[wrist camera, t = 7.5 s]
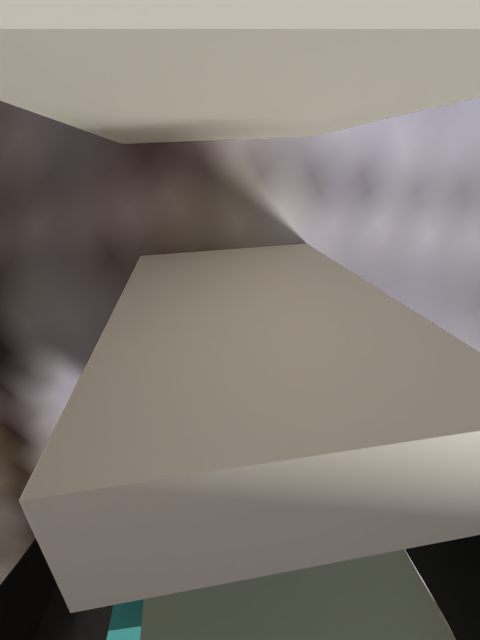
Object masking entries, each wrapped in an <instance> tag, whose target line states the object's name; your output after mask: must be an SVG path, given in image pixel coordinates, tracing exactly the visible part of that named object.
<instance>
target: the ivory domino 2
mask: <svg viewBox="0 0 480 640" xmlns="http://www.w3.org/2000/svg"><path fill="white" fill-rule="evenodd" d="M19 503H20V505H21V507H22V509H23V511H24V514H25V516H26V518H27V520H28V522H29V524H30V527H31V529H32V531H33V533H34V535H35V537H36V540H37V542H38V544H39V546H40V548H41V550H42V553H43V555H44V557H45V559H46V561H47V563H48V566H49V568H50V570H51V572H52V574H53V576H54V579H55V581H56V583H57V585H58V587H59V589H60V591H61V594H62V596H63V598H64V600H65V602H66V604H67V607H68V609H69V611H70V613H74V612H79V611H84V610H89V609H95V608H100V607H105V606H110V605H116V604H121V603H126V602H131V601H136V600H142V599H147V598H152V597H157V596H163V595H168V594H173V593H178V592H184V591H189V590H194V589H199V588H204V587H210V586H215V585H220V584H225V583H231V582H236V581H241V580H246V579H251V578H257V577H262V576H267V575H272V574H278V573H283V572H288V571H293V570H299V569H304V568H309V567H314V566H319V565H325V564H330V563H335V562H340V561H346V560H351V559H356V558H361V557H367V556H372V555H377V554H382V553H387V552H393V551H398V550H403V549H408V548H414V547H419V546H424V545H429V544H434V543H440V542H445V541H450V540H455V539H461V538H466V537H471V536H476V535H480V352H478V351H476V350H475V349H473V348H472V347H470V346H469V345H467V344H465V343H464V342H462V341H461V340H459V339H457V338H456V337H454V336H453V335H451V334H450V333H448V332H446V331H445V330H443V329H442V328H440V327H438V326H437V325H435V324H434V323H432V322H430V321H429V320H427V319H426V318H424V317H423V316H421V315H419V314H418V313H416V312H415V311H413V310H411V309H410V308H408V307H407V306H405V305H403V304H402V303H400V302H399V301H397V300H396V299H394V298H392V297H391V296H389V295H388V294H386V293H384V292H383V291H381V290H380V289H378V288H376V287H375V286H373V285H372V284H370V283H369V282H367V281H365V280H364V279H362V278H361V277H359V276H357V275H356V274H354V273H353V272H351V271H350V270H348V269H346V268H345V267H343V266H342V265H340V264H338V263H337V262H335V261H334V260H332V259H330V258H329V257H327V256H326V255H324V254H323V253H321V252H319V251H318V250H316V249H315V248H313V247H311V246H310V245H308V244H307V243H305V244H291V245H278V246H265V247H252V248H239V249H226V250H212V251H199V252H186V253H173V254H160V255H146V256H140V258H139V260H138V262H137V264H136V266H135V268H134V270H133V272H132V274H131V276H130V278H129V280H128V282H127V284H126V286H125V288H124V290H123V292H122V294H121V296H120V298H119V300H118V302H117V304H116V306H115V308H114V310H113V312H112V314H111V316H110V318H109V320H108V322H107V324H106V326H105V328H104V330H103V332H102V334H101V336H100V338H99V340H98V342H97V344H96V346H95V348H94V350H93V352H92V354H91V356H90V358H89V360H88V362H87V364H86V366H85V368H84V370H83V372H82V374H81V376H80V378H79V380H78V382H77V384H76V386H75V388H74V390H73V393H72V395H71V397H70V399H69V401H68V403H67V405H66V407H65V409H64V411H63V413H62V415H61V417H60V419H59V421H58V423H57V425H56V427H55V429H54V431H53V433H52V435H51V437H50V439H49V441H48V443H47V445H46V447H45V449H44V451H43V453H42V455H41V457H40V459H39V461H38V463H37V465H36V467H35V469H34V471H33V473H32V475H31V477H30V479H29V481H28V483H27V485H26V487H25V489H24V491H23V493H22V495H21V497H20V499H19Z"/></svg>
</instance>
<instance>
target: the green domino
mask: <svg viewBox="0 0 480 640" xmlns="http://www.w3.org/2000/svg"><path fill="white" fill-rule="evenodd" d="M140 640H456V639H455V638H454V636H453V634H452V632H451V631H450V629H449V627H448V625H447V624H446V622H445V620H444V619H443V617H442V615H441V613H440V612H439V610H438V608H437V606H436V605H435V603H434V601H433V599H432V598H431V596H430V594H429V592H428V591H427V589H426V587H425V585H424V584H423V582H422V580H421V578H420V577H419V575H418V573H417V571H416V570H415V568H414V566H413V564H412V563H411V561H410V559H409V557H408V556H407V554H406V552H405V550H404V549H403V550H398V551H393V552H387V553H382V554H377V555H372V556H367V557H361V558H356V559H351V560H346V561H340V562H335V563H330V564H325V565H319V566H314V567H309V568H304V569H299V570H293V571H288V572H283V573H278V574H272V575H267V576H262V577H257V578H251V579H246V580H241V581H236V582H231V583H225V584H220V585H215V586H210V587H204V588H199V589H194V590H189V591H184V592H178V593H173V594H168V595H163V596H157V597H152V598H147V599H144V603H143V613H142V624H141V635H140Z"/></svg>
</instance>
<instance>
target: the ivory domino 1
mask: <svg viewBox="0 0 480 640" xmlns="http://www.w3.org/2000/svg"><path fill="white" fill-rule="evenodd" d="M476 97H480V0H0V101H3V102H6V103H8V104H11V105H14V106H17V107H20V108H22V109H25V110H28V111H31V112H34V113H36V114H39V115H42V116H45V117H48V118H51V119H53V120H56V121H59V122H62V123H65V124H67V125H70V126H73V127H76V128H79V129H81V130H84V131H87V132H90V133H93V134H95V135H98V136H101V137H104V138H107V139H109V140H112V141H115V142H118V143H121V144H132V143H158V142H184V141H211V140H237V139H263V138H290V137H312V136H316V135H320V134H324V133H329V132H333V131H337V130H341V129H345V128H350V127H354V126H358V125H362V124H366V123H371V122H375V121H379V120H383V119H388V118H392V117H396V116H400V115H404V114H409V113H413V112H417V111H421V110H425V109H430V108H434V107H438V106H442V105H447V104H451V103H455V102H459V101H463V100H468V99H472V98H476Z"/></svg>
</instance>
